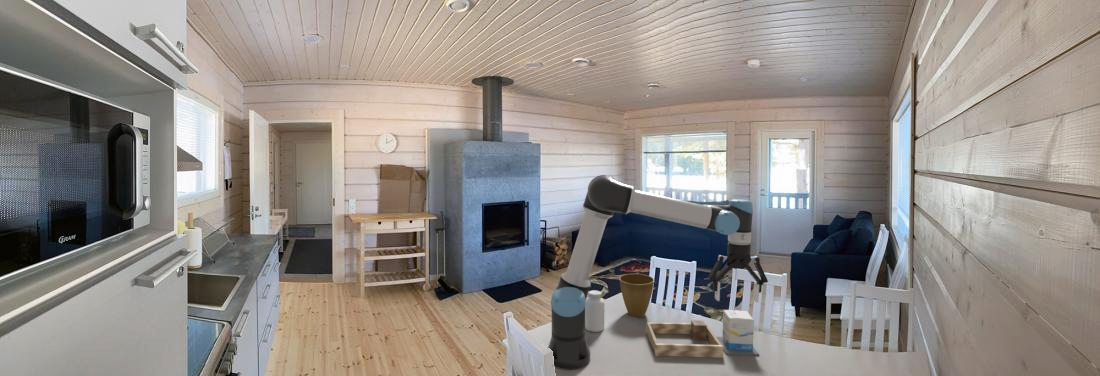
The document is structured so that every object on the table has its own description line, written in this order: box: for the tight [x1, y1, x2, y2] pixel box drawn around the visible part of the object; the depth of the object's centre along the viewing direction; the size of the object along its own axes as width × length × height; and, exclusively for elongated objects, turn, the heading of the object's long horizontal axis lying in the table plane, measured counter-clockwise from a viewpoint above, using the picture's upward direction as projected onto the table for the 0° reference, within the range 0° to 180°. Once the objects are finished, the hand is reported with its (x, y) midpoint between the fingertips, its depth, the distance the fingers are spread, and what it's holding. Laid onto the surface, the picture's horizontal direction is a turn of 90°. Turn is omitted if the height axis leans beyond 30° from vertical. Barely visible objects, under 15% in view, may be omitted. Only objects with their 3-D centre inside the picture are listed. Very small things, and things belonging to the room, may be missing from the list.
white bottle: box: [585, 289, 605, 333], centre depth 165 cm, size 8×8×15 cm
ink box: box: [722, 309, 755, 351], centre depth 148 cm, size 9×8×12 cm
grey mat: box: [716, 336, 760, 357], centre depth 149 cm, size 11×13×1 cm
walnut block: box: [690, 319, 708, 342], centre depth 156 cm, size 4×4×6 cm
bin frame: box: [646, 321, 724, 359], centre depth 151 cm, size 23×19×4 cm
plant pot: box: [619, 273, 655, 318], centre depth 179 cm, size 15×15×16 cm
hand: (736, 300), depth 147 cm, fingers open, 13 cm apart
